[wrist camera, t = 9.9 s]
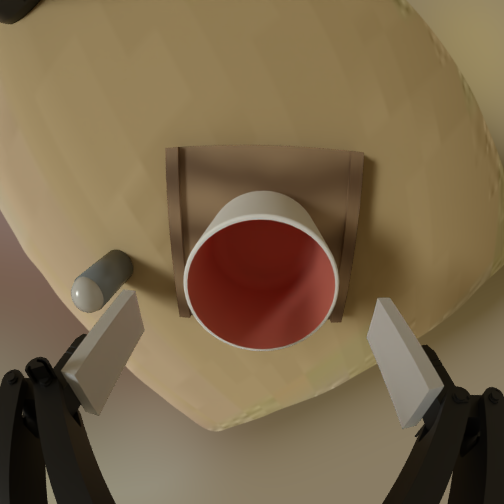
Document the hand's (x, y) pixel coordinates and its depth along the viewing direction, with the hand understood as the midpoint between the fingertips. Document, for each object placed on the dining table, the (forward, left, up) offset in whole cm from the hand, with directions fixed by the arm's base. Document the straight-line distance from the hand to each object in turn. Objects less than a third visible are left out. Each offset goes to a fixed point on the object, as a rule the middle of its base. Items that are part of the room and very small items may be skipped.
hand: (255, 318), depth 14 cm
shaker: (+4, -17, -15) cm, 23 cm away
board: (0, 0, -15) cm, 15 cm away
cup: (0, 0, -13) cm, 13 cm away
